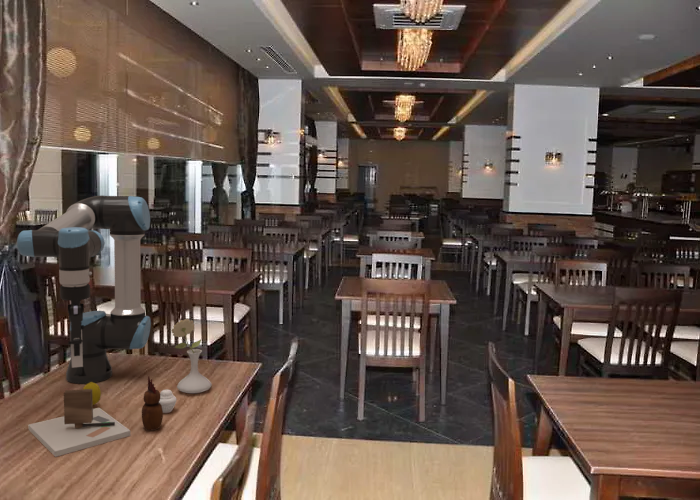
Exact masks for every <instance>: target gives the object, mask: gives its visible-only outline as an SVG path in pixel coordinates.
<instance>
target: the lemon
mask: <svg viewBox="0 0 700 500" xmlns="http://www.w3.org/2000/svg"><path fill="white" fill-rule="evenodd" d="M82 389H92V399H93V406H94V405H96V404H97V403H99V401H100V400H101V398H102V397H101V395H102V391H101V388H100V386H99V385H98V384H97V382H95V383H93V382H90V383H86V384H85V385H84V386H83V388H82Z"/></svg>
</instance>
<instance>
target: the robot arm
mask: <svg viewBox="0 0 700 500" xmlns="http://www.w3.org/2000/svg"><path fill="white" fill-rule="evenodd" d="M150 227H151V215H150V208H149V205H148V203H147V201H146V200H145V198H143V197H140V196H132V195H94V196H90V197H87V198H84V199H81V200H79V201H77V202H75V203H73V204H71V205H70V206H69V207H68V208H67V209H66V212H65V213H62V214H61V215H60V216H58V217H56V218H55V219H53V220H52V221H50V222H48V223H46V224H45V225H44V226H42V227H40V228H38V229H36V230H32V229H30V230H22V231H21V232H19V233H18V235H17V238H16V246H17V251H18V253H19V254H20V255H21V256H23V257H31V258H58V265H59V266H58V267H59V269H58V271H59V272H58V276H59V278H58V279H59V284H60V286H59V295H60V296H59V297H60V299H61V300H63V301H70V304H67V313H68V321H69V322H70V324H69V325H70V326H69V333H70V335H69V336H70V338H69V339H70V340H69V341H67V342H68V345H70V359H69V363H68V365H67V369H66V372H65V380H66V381H67V382H68V383H71V384H78V385H79V384H82V385H84V384H85V385H86V384H88V383H90V382H93V383H98V382H99V383H100V382H103V381H106V380H108V379H110V378H111V377H112V376H113V367H112V365H111V362H110V360H109V357H108V355H107V350H139V349H143V348H144V347H146V345H147V343H148V340H149V337H150V333H151V326H152V325H151V324H152V322H151V321H152V320H151V317H150V316H149V315H146V310H145V309H144V307H142V305H141V303H142V302H141V300H142V299H141V298H142V297H141V287H142V286H141V284H142V283H141V282H142V281H141V239H142V238H143V237H145V234H146V233H145V232H146V231H148V230H149V229H150ZM92 229H93V230H92ZM95 229H96V230H95ZM97 229H99V230H109V236H110V237H111V238H112V239H113V240H114V243H113V244H114V245H113V247H114V251H113V252H114V254H113V255H114V307H113V309H112V310H111V311H110V315H107V313H106V311H105V310H93V311H86V312H84V311H85V310H84V308H85V307H84V303H81V300H83V301H84V300H88V299H90V297H91V285H90V284H89V283H90V282H91V281H90V279H91V277H90V276H91V275H92V274H93V272H92V271H90V258H93V257H97V255H99V254H100V253H101V252H102V251H103V250H104V248H105V244H106V241H105V238H104V236H103V235H102V233H100V231H99V232H98V231H97Z"/></svg>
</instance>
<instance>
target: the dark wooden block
mask: <svg viewBox="0 0 700 500" xmlns="http://www.w3.org/2000/svg"><path fill="white" fill-rule="evenodd" d="M93 407H94V405H93V399H92V389H83V388H82V389H66V390H64V391H63V416H64V423H65V424H75V428H82V427H91V426H108V425H115V422H106V423H92V420H93V409H94V408H93ZM83 423H88V424H83Z"/></svg>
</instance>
